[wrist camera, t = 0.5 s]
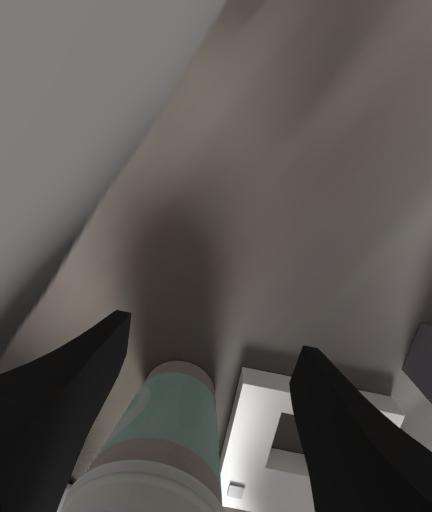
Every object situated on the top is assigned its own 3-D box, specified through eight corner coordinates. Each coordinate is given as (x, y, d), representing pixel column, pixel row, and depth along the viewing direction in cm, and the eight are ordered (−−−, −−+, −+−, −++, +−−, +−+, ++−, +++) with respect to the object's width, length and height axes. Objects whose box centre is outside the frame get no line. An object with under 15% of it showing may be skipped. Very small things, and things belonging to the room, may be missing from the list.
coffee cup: (156, 326, 24) (81, 470, 12) (251, 376, 24) (265, 558, 13) (112, 404, 26) (13, 590, 14) (200, 448, 27) (173, 660, 15)
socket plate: (346, 507, 27) (355, 535, 25) (214, 480, 27) (213, 506, 25) (391, 396, 24) (406, 418, 22) (242, 366, 24) (243, 385, 22)
